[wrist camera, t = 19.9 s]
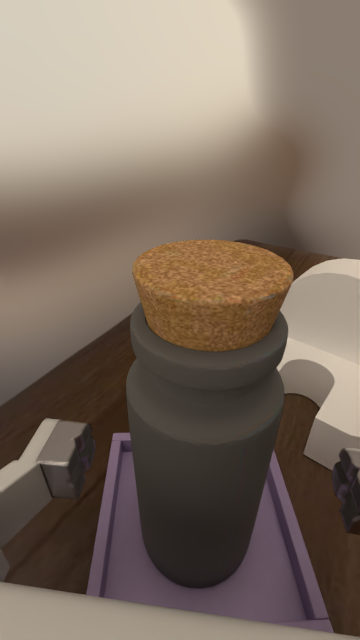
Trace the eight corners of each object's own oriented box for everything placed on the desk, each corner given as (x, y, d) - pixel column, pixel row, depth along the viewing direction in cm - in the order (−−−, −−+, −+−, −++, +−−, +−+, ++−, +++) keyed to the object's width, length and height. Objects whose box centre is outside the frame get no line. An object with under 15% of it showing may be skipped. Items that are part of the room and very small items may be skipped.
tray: (325, 652, 14) (336, 638, 13) (83, 664, 13) (76, 651, 12) (263, 445, 22) (267, 428, 21) (115, 450, 22) (113, 432, 21)
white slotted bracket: (401, 348, 32) (446, 249, 27) (349, 480, 20) (413, 351, 15) (306, 316, 37) (328, 228, 32) (221, 406, 25) (233, 291, 20)
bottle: (202, 456, 21) (217, 224, 13) (273, 536, 17) (358, 271, 9) (121, 511, 18) (78, 254, 10) (185, 623, 14) (198, 344, 6)
